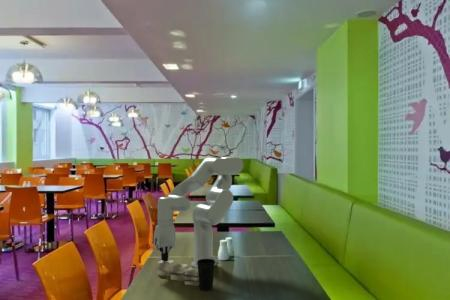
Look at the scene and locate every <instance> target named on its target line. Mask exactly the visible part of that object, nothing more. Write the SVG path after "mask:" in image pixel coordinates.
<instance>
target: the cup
mask: <svg viewBox="0 0 450 300" xmlns="http://www.w3.org/2000/svg"><path fill="white" fill-rule="evenodd" d="M197 265H198V276H199V285H198V286H199V287H198V288H199V290H200V291H204V292H208V291H212V290H213V288H214V287H213V286H214V274H215V266H216V265H215V261H214V260H212V259H200V260H198V261H197Z"/></svg>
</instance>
